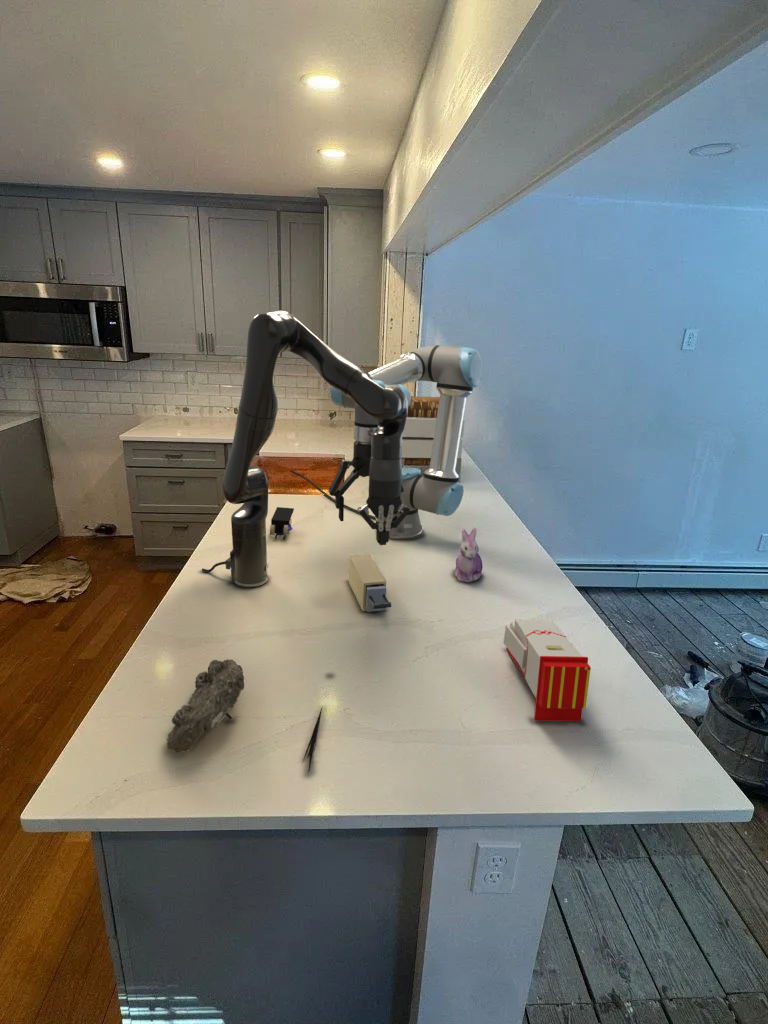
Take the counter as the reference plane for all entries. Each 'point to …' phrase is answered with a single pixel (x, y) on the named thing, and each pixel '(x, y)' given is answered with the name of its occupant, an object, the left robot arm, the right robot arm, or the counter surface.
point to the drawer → (376, 598)
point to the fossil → (206, 705)
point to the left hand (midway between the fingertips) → (382, 543)
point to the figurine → (468, 558)
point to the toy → (549, 668)
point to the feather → (313, 740)
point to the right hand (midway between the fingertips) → (365, 518)
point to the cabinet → (363, 576)
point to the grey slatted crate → (422, 433)
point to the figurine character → (281, 522)
